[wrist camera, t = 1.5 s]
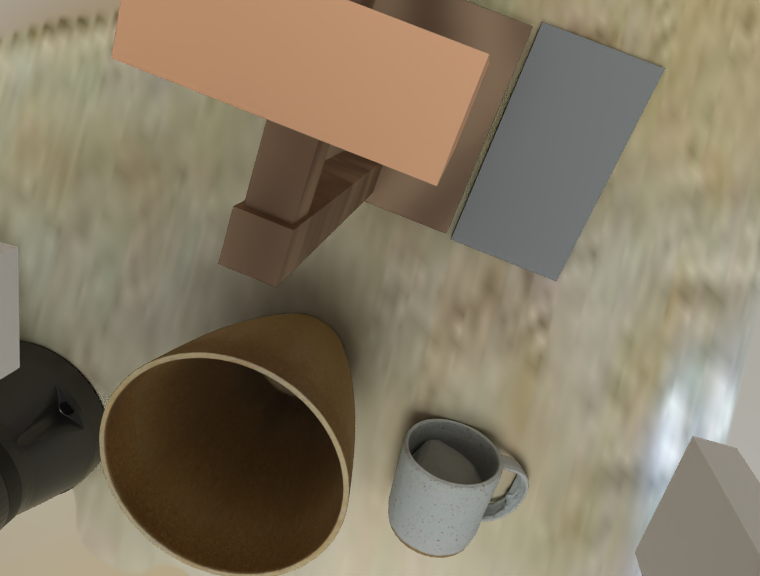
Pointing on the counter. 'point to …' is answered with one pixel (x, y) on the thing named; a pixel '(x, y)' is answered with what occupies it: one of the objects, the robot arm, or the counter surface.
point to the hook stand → (358, 174)
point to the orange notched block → (315, 71)
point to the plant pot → (237, 446)
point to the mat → (554, 150)
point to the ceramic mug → (448, 487)
